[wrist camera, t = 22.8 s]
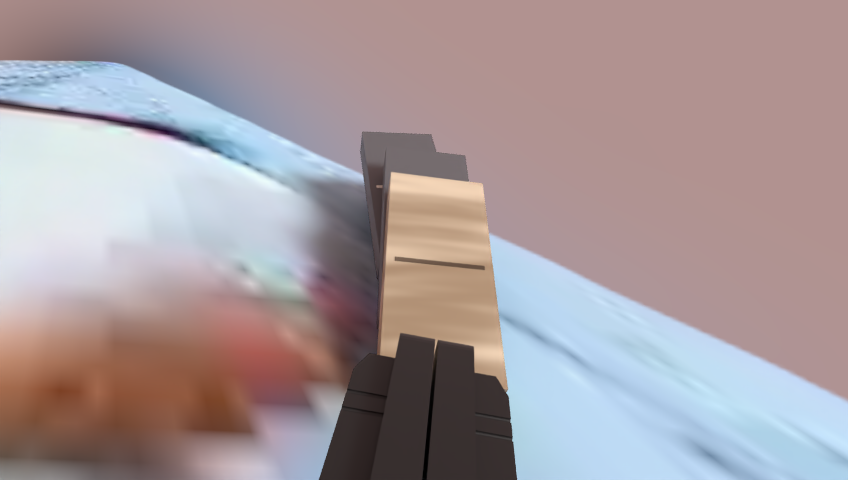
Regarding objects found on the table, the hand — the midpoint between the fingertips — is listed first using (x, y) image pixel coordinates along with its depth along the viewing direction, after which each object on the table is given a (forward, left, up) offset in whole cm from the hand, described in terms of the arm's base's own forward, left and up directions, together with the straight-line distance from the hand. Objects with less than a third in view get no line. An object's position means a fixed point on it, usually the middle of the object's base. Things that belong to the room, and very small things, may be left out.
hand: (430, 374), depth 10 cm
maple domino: (+2, +7, -7) cm, 10 cm away
